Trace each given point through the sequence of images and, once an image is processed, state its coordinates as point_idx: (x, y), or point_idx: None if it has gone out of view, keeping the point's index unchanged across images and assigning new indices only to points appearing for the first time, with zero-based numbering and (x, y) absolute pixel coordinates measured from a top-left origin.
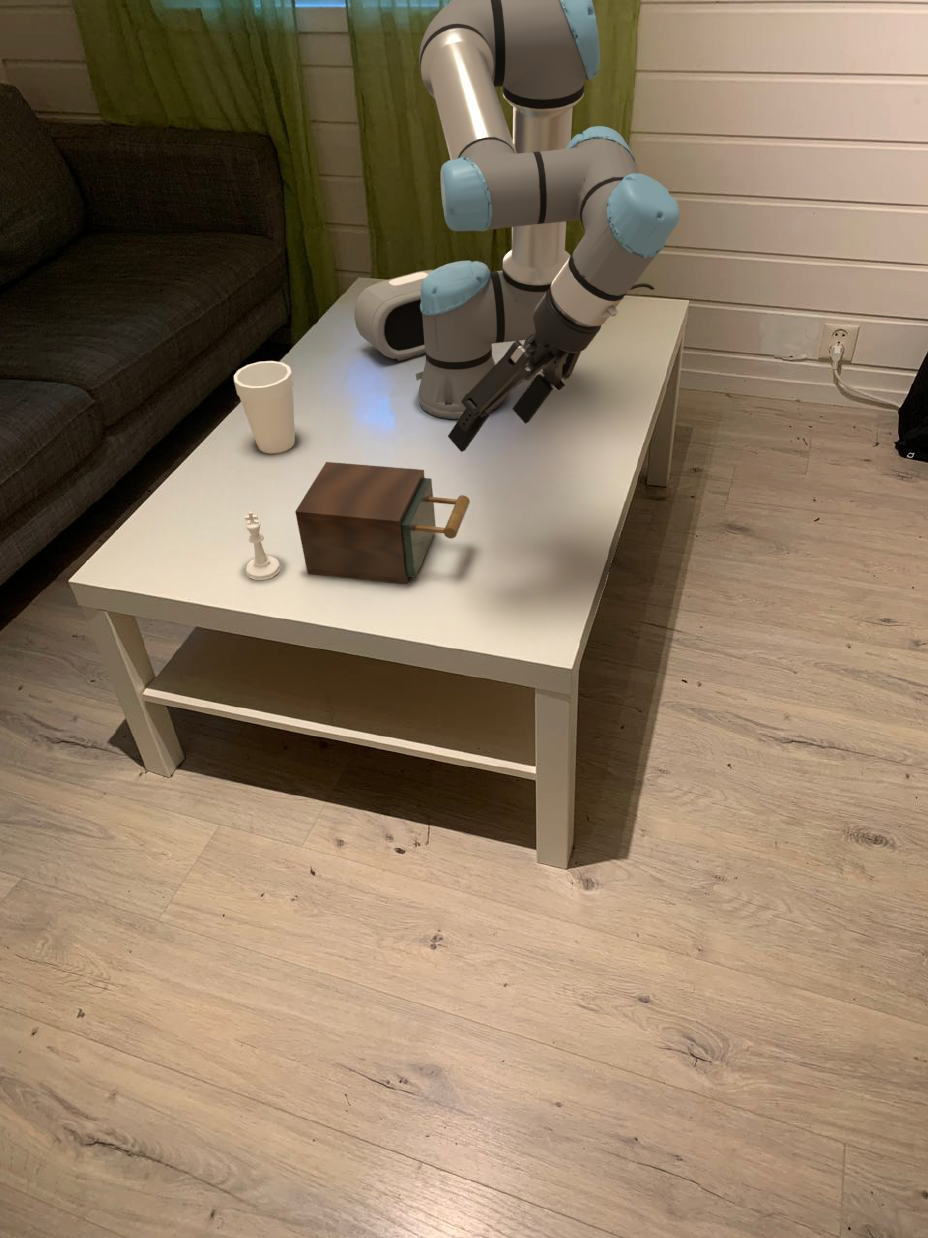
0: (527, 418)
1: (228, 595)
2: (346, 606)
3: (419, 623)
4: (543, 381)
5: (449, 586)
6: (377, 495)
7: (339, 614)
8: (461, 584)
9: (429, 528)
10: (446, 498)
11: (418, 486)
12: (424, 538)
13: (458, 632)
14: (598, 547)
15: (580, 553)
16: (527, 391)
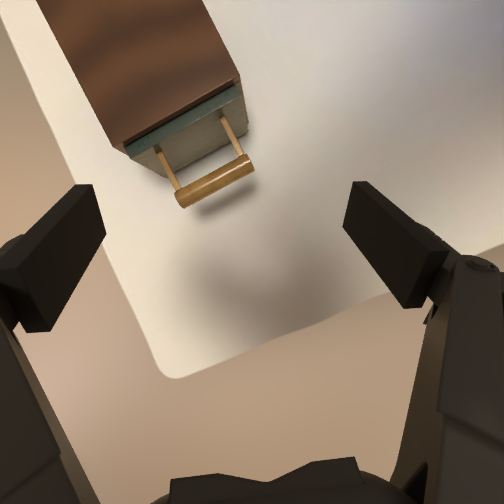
0: (348, 231)
1: (24, 25)
2: (93, 146)
3: (122, 229)
4: (422, 278)
5: (185, 213)
6: (140, 68)
7: (80, 150)
8: (196, 222)
9: (167, 172)
10: (236, 140)
11: (208, 97)
12: (200, 149)
13: (136, 271)
14: (342, 304)
15: (320, 294)
16: (386, 220)
